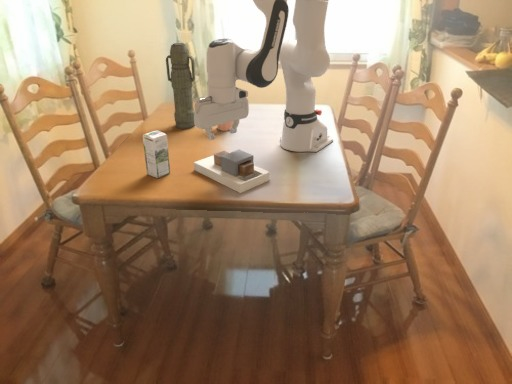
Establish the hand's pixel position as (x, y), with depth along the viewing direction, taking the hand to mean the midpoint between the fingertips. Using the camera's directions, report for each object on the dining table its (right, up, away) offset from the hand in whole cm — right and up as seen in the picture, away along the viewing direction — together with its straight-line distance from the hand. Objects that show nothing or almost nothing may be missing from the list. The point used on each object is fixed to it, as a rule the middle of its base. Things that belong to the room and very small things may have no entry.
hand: (222, 135), depth 140 cm
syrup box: (-22, -12, +6) cm, 26 cm away
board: (+3, -13, +5) cm, 14 cm away
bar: (+4, -10, +2) cm, 11 cm away
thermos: (-20, +11, +50) cm, 55 cm away
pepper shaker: (-2, +10, +47) cm, 48 cm away
